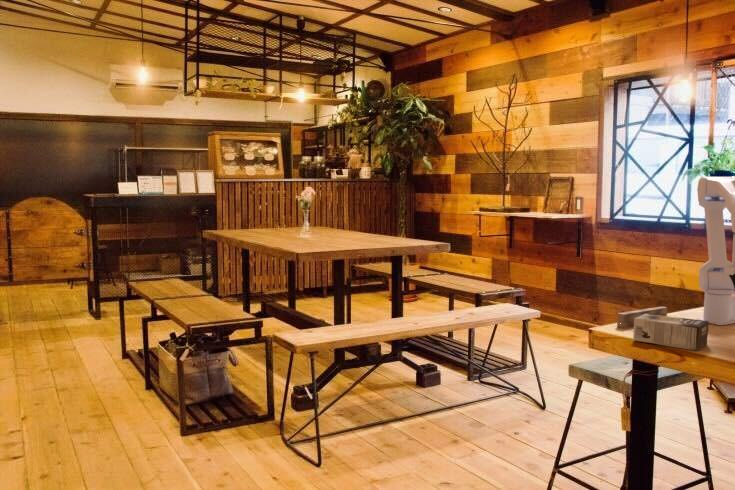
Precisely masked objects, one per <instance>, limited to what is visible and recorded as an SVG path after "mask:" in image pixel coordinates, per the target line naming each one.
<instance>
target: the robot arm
mask: <svg viewBox="0 0 735 490" xmlns="http://www.w3.org/2000/svg"><path fill="white" fill-rule="evenodd" d="M696 190H697V201H698V205H699V206H700V207H702V208H703V209H704V215H705V227H706V239H707V241H706V242H707V254H708V261H706V262H705V263H704V264H702V265H701V266H700V268H699V275H698V286H699V288H700V290H701V291H703V292H704V300H703V313H702V314H703V316H702V317H701V318H697V319H696V320H702V321H709V324H713V325H717V326H726V325H731V324H735V176H732V175H731V176H701V177H699V180H698V182H697V189H696ZM724 209H727V211H728V212H729V214H730V222H731V233H733V239H732V258H731V261H730V260H728V258H727V256H728V255H727V244H726V235H725V232H726V231H725V224H724V223H725V221H724Z"/></svg>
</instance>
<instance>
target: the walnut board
mask: <svg viewBox="0 0 735 490" xmlns="http://www.w3.org/2000/svg"><path fill="white" fill-rule="evenodd" d="M643 314H653V315H661V316H668V307H666V306H657V307H656V306H655V307H649V308H643V309H635V310H631V311H623V312H618V313H617V319H616V320H617V321H616V327H617V328H621V329H627V328H631V327H634V318H636V317H639V316H641V315H643ZM620 323H621V324H620ZM626 327H627V328H626Z"/></svg>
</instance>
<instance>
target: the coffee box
mask: <svg viewBox="0 0 735 490" xmlns="http://www.w3.org/2000/svg"><path fill="white" fill-rule="evenodd" d="M709 325H710V323H709V321H702V320H697V319H692V318H685V317H677V316H676V317H675V316H668V315H667V316H661V315H653V314H643V315H641V316H639V317H636V318H634V326H633V338H632V339H633V340H632V341H634V342H640V343H648V344H652V345H653V344H654V345H659V346H665V347H669V348H670V347H671V348H677V349H678V348H679V349H684V350H689V351H690V350H691V351H695V352H698V351H700V350H701V349H703V348H704V347H705V346H707V345H708V336H709Z"/></svg>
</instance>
